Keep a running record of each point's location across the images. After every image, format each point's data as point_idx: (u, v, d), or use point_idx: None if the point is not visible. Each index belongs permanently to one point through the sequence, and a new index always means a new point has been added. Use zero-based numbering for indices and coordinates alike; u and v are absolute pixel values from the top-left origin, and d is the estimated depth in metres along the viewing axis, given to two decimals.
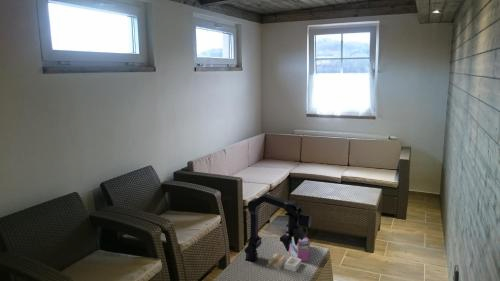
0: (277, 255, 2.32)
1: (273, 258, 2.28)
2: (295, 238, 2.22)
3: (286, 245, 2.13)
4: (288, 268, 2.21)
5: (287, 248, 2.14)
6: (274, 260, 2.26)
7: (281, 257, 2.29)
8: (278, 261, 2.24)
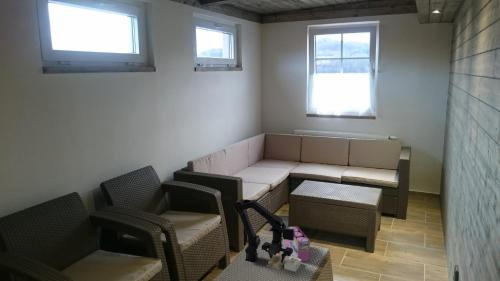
0: (277, 255, 2.32)
1: (273, 258, 2.28)
2: None
3: None
4: (288, 268, 2.21)
5: None
6: (274, 260, 2.26)
7: (281, 257, 2.29)
8: (278, 261, 2.24)
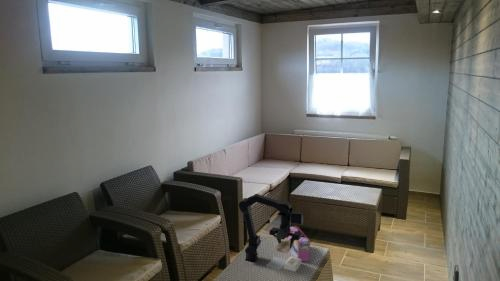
0: (285, 240, 2.28)
1: (281, 243, 2.24)
2: None
3: None
4: (288, 268, 2.21)
5: None
6: (282, 245, 2.22)
7: (289, 242, 2.25)
8: (287, 246, 2.20)
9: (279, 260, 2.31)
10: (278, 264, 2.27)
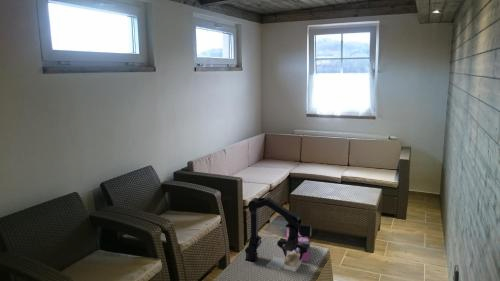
0: (293, 253, 2.27)
1: (289, 256, 2.24)
2: None
3: None
4: (288, 268, 2.21)
5: None
6: (290, 258, 2.22)
7: (297, 255, 2.25)
8: (294, 259, 2.20)
9: (279, 260, 2.31)
10: (278, 264, 2.27)
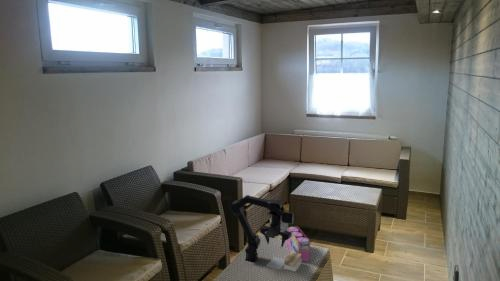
0: (293, 253, 2.27)
1: (289, 256, 2.24)
2: None
3: None
4: (288, 268, 2.21)
5: None
6: (290, 258, 2.22)
7: (297, 255, 2.25)
8: (294, 259, 2.20)
9: (279, 260, 2.31)
10: (278, 264, 2.27)
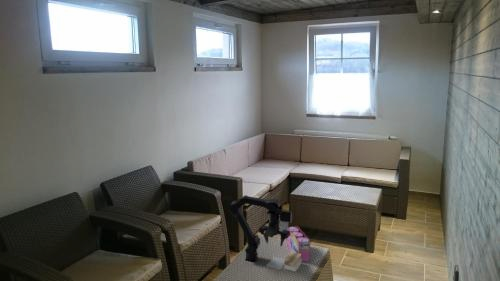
0: (293, 253, 2.27)
1: (289, 256, 2.24)
2: None
3: None
4: (288, 268, 2.21)
5: None
6: (290, 258, 2.22)
7: (297, 255, 2.25)
8: (294, 259, 2.20)
9: (279, 260, 2.31)
10: (278, 264, 2.27)
